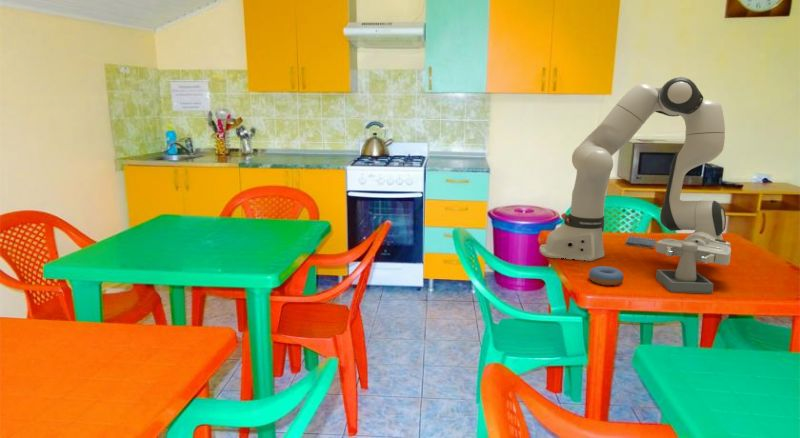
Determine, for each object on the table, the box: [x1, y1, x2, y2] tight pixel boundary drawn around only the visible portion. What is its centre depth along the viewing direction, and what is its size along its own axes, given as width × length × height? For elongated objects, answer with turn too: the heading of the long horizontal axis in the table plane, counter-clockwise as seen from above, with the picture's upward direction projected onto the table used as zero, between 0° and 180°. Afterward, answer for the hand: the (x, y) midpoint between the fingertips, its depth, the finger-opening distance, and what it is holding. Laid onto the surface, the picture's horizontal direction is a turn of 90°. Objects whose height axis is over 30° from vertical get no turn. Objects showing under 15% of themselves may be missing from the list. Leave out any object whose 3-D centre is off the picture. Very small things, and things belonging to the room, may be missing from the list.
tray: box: [655, 269, 714, 295], centre depth 162 cm, size 12×12×3 cm
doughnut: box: [588, 265, 624, 286], centre depth 166 cm, size 10×10×5 cm
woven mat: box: [624, 235, 657, 250], centre depth 207 cm, size 10×11×2 cm
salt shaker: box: [675, 242, 698, 282], centre depth 161 cm, size 6×6×13 cm
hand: (686, 257), depth 160 cm, fingers open, 8 cm apart
